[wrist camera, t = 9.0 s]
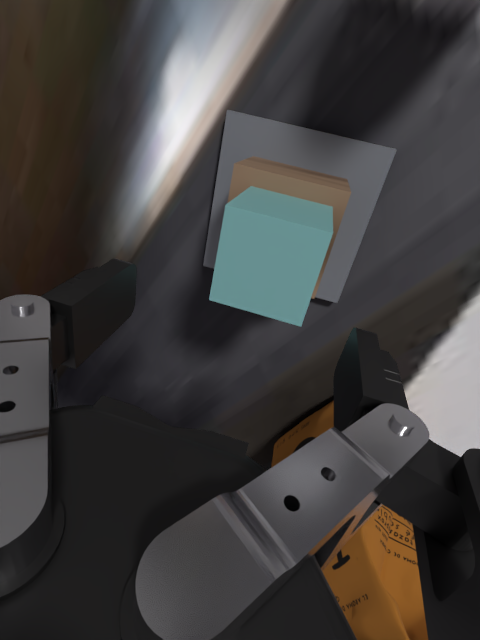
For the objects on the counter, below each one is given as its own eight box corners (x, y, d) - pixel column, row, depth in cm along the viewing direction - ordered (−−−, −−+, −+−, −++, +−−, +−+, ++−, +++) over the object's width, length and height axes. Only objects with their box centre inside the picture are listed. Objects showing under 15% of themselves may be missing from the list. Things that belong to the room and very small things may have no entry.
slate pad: (230, 110, 26) (227, 109, 25) (394, 148, 25) (396, 149, 24) (206, 261, 32) (202, 265, 31) (337, 298, 31) (337, 303, 30)
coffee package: (263, 427, 40) (202, 695, 21) (354, 373, 34) (383, 679, 15) (321, 480, 42) (313, 768, 23) (417, 438, 36) (512, 780, 17)
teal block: (251, 185, 21) (225, 204, 16) (332, 206, 21) (333, 232, 16) (235, 262, 24) (208, 300, 19) (307, 282, 23) (301, 326, 18)
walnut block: (253, 156, 26) (234, 163, 21) (347, 179, 25) (351, 192, 20) (235, 246, 30) (215, 271, 24) (317, 268, 29) (314, 298, 24)
